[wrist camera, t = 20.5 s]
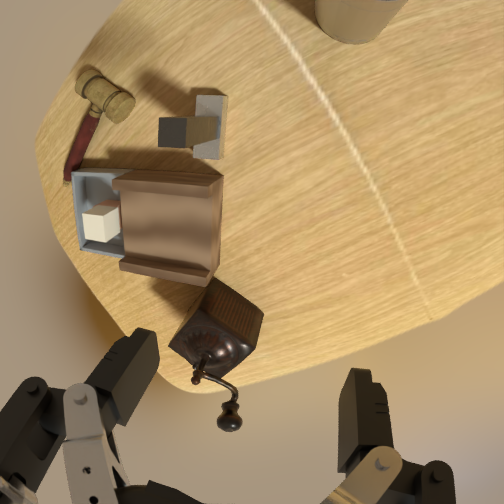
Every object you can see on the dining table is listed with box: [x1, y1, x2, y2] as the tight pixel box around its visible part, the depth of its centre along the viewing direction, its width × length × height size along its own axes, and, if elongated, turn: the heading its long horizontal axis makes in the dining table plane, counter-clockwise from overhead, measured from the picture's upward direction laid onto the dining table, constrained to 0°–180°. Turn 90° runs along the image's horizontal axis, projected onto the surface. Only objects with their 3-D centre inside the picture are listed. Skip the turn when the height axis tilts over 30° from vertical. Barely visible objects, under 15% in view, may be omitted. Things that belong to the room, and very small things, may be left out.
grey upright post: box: [158, 95, 228, 160], centre depth 34 cm, size 9×4×14 cm, turn 175°
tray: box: [71, 168, 135, 258], centre depth 47 cm, size 14×11×4 cm
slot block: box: [112, 169, 224, 287], centre depth 43 cm, size 14×14×7 cm
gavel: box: [63, 69, 135, 187], centre depth 42 cm, size 21×5×10 cm
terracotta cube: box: [93, 200, 123, 229], centre depth 46 cm, size 4×4×4 cm
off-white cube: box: [82, 205, 120, 242], centre depth 42 cm, size 4×4×4 cm
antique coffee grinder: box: [168, 278, 264, 432], centre depth 45 cm, size 16×11×18 cm
